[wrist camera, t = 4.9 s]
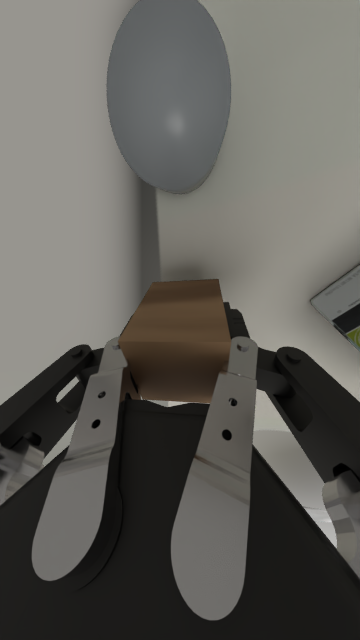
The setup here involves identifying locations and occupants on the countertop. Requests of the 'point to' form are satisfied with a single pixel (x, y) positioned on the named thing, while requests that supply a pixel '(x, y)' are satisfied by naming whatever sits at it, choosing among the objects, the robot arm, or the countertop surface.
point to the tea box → (342, 305)
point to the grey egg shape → (169, 93)
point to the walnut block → (178, 341)
